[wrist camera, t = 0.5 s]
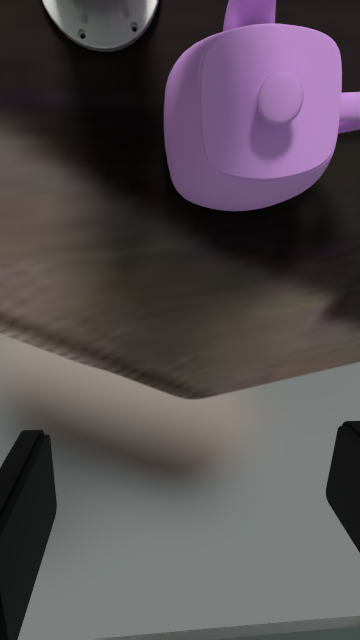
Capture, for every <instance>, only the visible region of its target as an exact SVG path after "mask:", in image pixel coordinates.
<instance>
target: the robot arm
mask: <svg viewBox="0 0 360 640" xmlns="http://www.w3.org/2000/svg"><path fill="white" fill-rule="evenodd" d="M42 2H43V4H44V7H45V9H46V10H47V12H48V14H49V16H50V18H51V19H52V20H53V22H54V23H55V24H56V26H57V27H58V28H59V29H60V30H61V31H62V32H63V33H64V34H65V35H66V36H67V37H68V38H69V39H71V40H72V41H74V42H75V43H77V44H78V45H80V46H82V47H85V48H87V49H89V50H94V51H99V52H113V51H116V50H120V49H124V48H125V47H127V46H129V45H131V44H133V43H134V42H135V41H137V40H138V39H139V38H140V37H141V36H142V35H143V34H144V32H145V31H146V30H147V29H148V27H149V26H150V24H151V22H152V20H153V18H154V16H155V13H156V10H157V6H158V3H159V0H42ZM133 29H136V30H137V31H136V32H133V31H132V30H133ZM82 36H85V38H84V39H81V37H82ZM326 497H327V500H328V503H329V504H330V506H331V507H332V509H333V511H334V512H335V514H336V515H337V517H338V519H339V520H340V522H341V523H342V525H343V527H344V528H345V530H346V532H347V533H348V535H349V536H350V538H351V539H352V541H353V543H354V544H355V546H356V547H357V549H358V551H359V552H360V421H346V422H344V423H343V424H342V426H340V427H339V428H338V431H337V437H336V441H335V447H334V452H333V457H332V462H331V467H330V472H329V477H328V482H327V487H326ZM56 503H57V502H56V492H55V483H54V472H53V462H52V452H51V442H50V436H49V435H44V432H43V430H24V431H22V432H21V433H20V435H19V437H18V438H17V440H16V442H15V444H14V445H13V447H12V449H11V450H10V452H9V454H8V456H7V457H6V459H5V461H4V463H3V464H2V466H1V468H0V640H17V639H18V636H19V633H20V629H21V626H22V623H23V620H24V617H25V613H26V610H27V607H28V603H29V600H30V597H31V594H32V591H33V587H34V584H35V580H36V577H37V574H38V571H39V568H40V564H41V561H42V558H43V555H44V551H45V548H46V545H47V542H48V538H49V535H50V532H51V529H52V525H53V522H54V519H55V515H56V508H57V507H56V506H57V504H56ZM94 640H360V616H352V617H339V618H327V619H315V620H303V621H291V622H280V623H268V624H256V625H245V626H233V627H221V628H210V629H201V630H200V629H199V630H188V631H177V632H167V633H156V634H145V635H134V636H125V637H112V638H102V639H94Z"/></svg>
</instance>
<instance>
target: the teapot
mask: <svg viewBox="0 0 360 640" xmlns="http://www.w3.org/2000/svg"><path fill="white" fill-rule="evenodd" d="M275 7H276V0H229V2H228V6H227V10H226V15H225V21H224V27H223V32H221V33H218V34H215V35H212V36H210V37H208V38H205V39H203V40H201V41H199V42H197V43H195V44H194V45H193V46H192V47H190V48H189V49H188V50H186V51H185V52H184V53H183V54H182V55H181V57H180V58H179V59H178V60H177V62H176V63H175V65H174V67H173V69H172V71H171V73H170V75H169V77H168V81H167V85H166V89H165V101H164V140H165V149H166V155H167V161H168V167H169V171H170V175H171V180H172V182H173V184H174V186H175V188H176V190H177V191H178V192H179V194H180V195H181V196H183V197H184V198H185V199H186V200H188V201H190V202H192V203H194V204H197V205H200V206H203V207H207V208H211V209H217V210H224V211H247V210H255V209H260V208H265V207H268V206H272V205H275V204H278V203H280V202H283V201H285V200H288V199H290V198H292V197H294V196H296V195H299V194H300V193H302V192H304V191H305V190H306V189H308V188H309V187H311V186H312V185H313V184H314V183H315V182H316V181H317V180H318V179H319V178H320V176H321V175H322V174H323V172H324V171H325V169H326V167H327V166H328V164H329V162H330V160H331V157H332V155H333V152H334V149H335V144H336V140H337V134H338V133H343V132H349V131H354V130H359V129H360V92H349V93H341V89H342V65H341V56H340V52H339V48H338V46H337V45H336V43H335V42H334V41H333V40H332V39H331V38H330V37H329V36H327V35H326V34H324V33H322V32H319V31H317V30H313V29H310V28H306V27H300V26H294V25H285V24H275Z"/></svg>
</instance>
